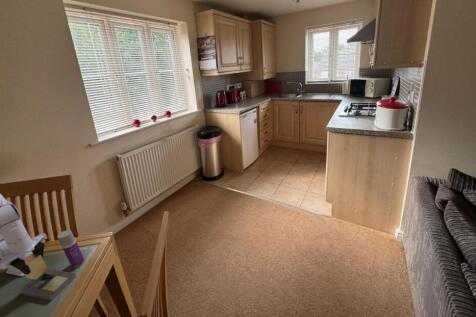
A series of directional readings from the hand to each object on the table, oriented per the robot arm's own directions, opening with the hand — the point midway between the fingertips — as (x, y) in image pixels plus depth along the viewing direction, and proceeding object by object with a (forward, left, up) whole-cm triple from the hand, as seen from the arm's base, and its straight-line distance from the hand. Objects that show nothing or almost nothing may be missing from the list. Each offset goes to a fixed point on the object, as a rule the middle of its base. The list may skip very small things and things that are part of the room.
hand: (34, 267), depth 84 cm
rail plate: (+3, 0, -8) cm, 9 cm away
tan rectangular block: (0, 0, -3) cm, 3 cm away
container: (+5, +10, -8) cm, 14 cm away
